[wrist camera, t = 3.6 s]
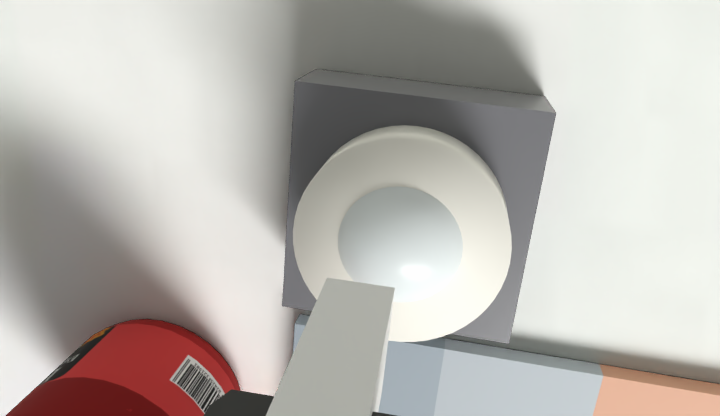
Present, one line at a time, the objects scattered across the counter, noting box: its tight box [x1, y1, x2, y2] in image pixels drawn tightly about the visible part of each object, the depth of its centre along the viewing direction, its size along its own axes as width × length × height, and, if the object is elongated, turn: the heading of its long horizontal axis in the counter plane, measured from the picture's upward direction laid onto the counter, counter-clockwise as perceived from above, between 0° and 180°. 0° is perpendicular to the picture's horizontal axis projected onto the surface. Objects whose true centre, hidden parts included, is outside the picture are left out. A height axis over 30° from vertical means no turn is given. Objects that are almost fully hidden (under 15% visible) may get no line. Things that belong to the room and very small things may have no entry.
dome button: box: [293, 125, 512, 342], centre depth 20 cm, size 6×6×6 cm
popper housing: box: [282, 69, 556, 344], centre depth 22 cm, size 8×8×3 cm
